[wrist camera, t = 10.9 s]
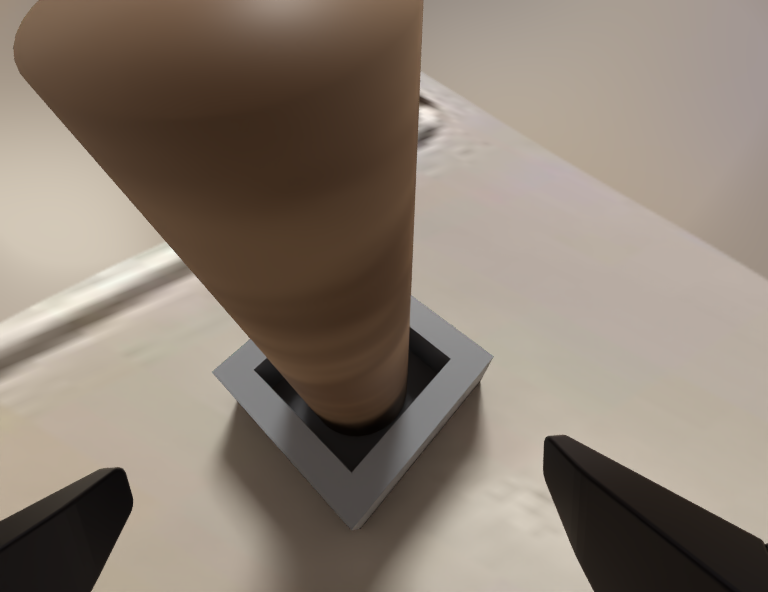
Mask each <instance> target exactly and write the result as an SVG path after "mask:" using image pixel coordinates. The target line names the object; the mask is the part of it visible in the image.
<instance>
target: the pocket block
mask: <svg viewBox="0 0 768 592" xmlns="http://www.w3.org/2000/svg"><path fill="white" fill-rule="evenodd" d="M493 357H494V356H492V355H491V354H490V353H488V352H487V351H486V350H484V349H483V348H482V347H480V346H479V345H478V344H476V343H475V342H474V341H472V340H471V339H470V338H468V337H467V336H466V335H464V334H463V333H461V332H460V331H459V330H457V329H456V328H455V327H453V326H452V325H451V324H449V323H448V322H447V321H445V320H444V319H443V318H441V317H440V316H439V315H437V314H436V313H435V312H433V311H432V310H430V309H429V308H428V307H426V306H425V305H424V304H422V303H421V302H420V301H418V300H417V299H416V298H414V297H413V296H412V295H411V306H410V329H409V353H408V376H407V393H406V398H405V402H404V404H403V407H402V409H401V410H400V412H399V414H398V415H397V416H396V418H395V419H394V420H393V421H392V422H391V423H390V424H389V425H387V426H386V427H385V428H383V429H381V430H380V431H378V432H375V433H373V434H369V435H365V436H349V435H344V434H341V433H338V432H336V431H334V430H332V429H331V428H329V427H328V426H327V425H325V424H324V423H323V422H322V421H321V419H320V418H319V417H318V416H317V415H316V414H315V412H314V411H313V410H312V409H311V408H310V407H309V406H308V404H307V403H306V402H305V401H304V400H303V399H302V398H301V396H300V395H299V394H298V393H297V392H296V391H295V389H294V388H293V387H292V386H291V385H290V384H289V383H288V381H287V380H286V379H285V378H284V377H283V376H282V374H281V373H280V372H279V371H278V370H277V369H276V368H275V366H274V365H273V364H272V363H271V362H270V361H269V360H268V358H267V357H266V356H265V355H264V354H263V353H262V351H261V350H260V349H259V348H258V347H257V346H256V345H255V343H254V342H253V341H252V340H251V339H250V340H248V341H247V342H246V343H245V344H244V345H243V346H241V347H240V348H239V349H238V350H237V351H236V352H234V353H233V354H232V355H231V356H230V357H229V358H227V359H226V360H225V361H224V362H223V363H222V364H220V365H219V366H218V367H217V368H216V369H215V370H214V371H212V373H213V374H214V375H215V376H216V377H217V379H218V380H219V381H220V382H221V383H222V384H223V385H224V387H225V388H226V389H227V390H228V391H229V392H230V393H231V394H232V396H233V397H234V398H235V399H236V400H237V401H238V402H239V404H240V405H241V406H242V407H243V408H244V409H245V410H246V411H247V413H248V414H249V415H250V416H251V417H252V418H253V419H254V421H255V422H256V423H257V424H258V425H259V426H260V427H261V428H262V430H263V431H264V432H265V433H266V434H267V435H268V436H269V438H270V439H271V440H272V441H273V442H274V443H275V444H276V445H277V447H278V448H279V449H280V450H281V451H282V452H283V453H284V455H285V456H286V457H287V458H288V459H289V460H290V461H291V463H292V464H293V465H294V466H295V467H296V468H297V469H298V470H299V472H300V473H301V474H302V475H303V476H304V477H305V478H306V480H307V481H308V482H309V483H310V484H311V485H312V486H313V487H314V489H315V490H316V491H317V492H318V493H319V494H320V495H321V497H322V498H323V499H324V500H325V501H326V502H327V503H328V504H329V506H330V507H331V508H332V509H333V510H334V511H335V512H336V514H337V515H338V516H339V517H340V518H341V519H342V520H343V522H344V523H345V524H346V525H347V526H348V527H349V528H350V529H351V530H356V529H361V527H362V526H363V525H364V524H365V522H366V521H367V520H368V519H369V518H370V516H371V515H372V514H373V513H374V511H375V510H376V509H377V508H378V506H379V505H380V504H381V503H382V501H383V500H384V499H385V498H386V497H387V495H388V494H389V493H390V492H391V490H392V489H393V488H394V487H395V485H396V484H397V483H398V482H399V481H400V479H401V478H402V477H403V476H404V474H405V473H406V472H407V471H408V469H409V468H410V467H411V466H412V464H413V463H414V462H415V461H416V460H417V458H418V457H419V456H420V455H421V453H422V452H423V451H424V450H425V448H426V447H427V446H428V445H429V443H430V442H431V441H432V440H433V439H434V437H435V436H436V435H437V434H438V432H439V431H440V430H441V429H442V427H443V426H444V425H445V424H446V423H447V421H448V420H449V419H450V418H451V416H452V415H453V414H454V413H455V411H456V410H457V409H458V408H459V406H460V405H461V404H462V403H463V402H464V400H465V399H466V398H467V397H468V395H469V394H470V393H471V392H472V390H473V389H474V388H475V387H476V385H477V384H478V383H479V382H480V381H481V379H482V377H483V375H484V373H485V371H486V370H487V368H488V366H489V364H490V362H491V360H492V359H493Z"/></svg>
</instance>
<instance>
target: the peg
mask: <svg viewBox="0 0 768 592" xmlns="http://www.w3.org/2000/svg"><path fill="white" fill-rule="evenodd" d="M422 22H423V0H39V1H38V2H37V3H36V4H35V5H34V6H33V7H32V8H31V9H30V11H29V12H28V13H27V15H26V16H25V17H24V19H23V21H22V22H21V24H20V26H19V29H18V31H17V33H16V36H15V42H14V47H13V49H14V59H15V63H16V65H17V67H18V70H19V72H20V74H21V75H22V76H23V77H24V79H25V80H26V81H27V82H28V83H29V84H30V86H31V87H32V88H33V89H34V90H35V91H36V93H37V94H38V95H39V96H40V97H41V98H42V100H44V102H45V103H46V104H47V105H48V107H49V108H50V109H51V110H52V111H53V112H54V113H55V115H56V116H57V117H58V118H59V119H60V120H61V121H62V123H63V124H64V125H65V126H66V127H67V128H68V130H69V131H70V132H71V133H72V134H73V135H74V136H75V138H76V139H77V140H78V141H79V142H80V143H81V144H82V146H83V147H84V148H85V149H86V150H87V151H88V153H89V154H90V155H91V156H92V157H93V158H94V159H95V161H96V162H97V163H98V164H99V165H100V166H101V167H102V169H103V170H104V171H105V172H106V173H107V174H108V176H109V177H110V178H111V179H112V180H113V181H114V182H115V184H116V185H117V186H118V187H119V188H120V189H121V190H122V192H123V193H124V194H125V195H126V196H127V197H128V198H129V200H130V201H131V202H132V203H133V204H134V205H135V206H136V208H137V209H138V210H139V211H140V212H141V213H142V214H143V216H144V217H145V218H146V219H147V220H148V222H149V223H150V224H151V225H152V226H153V227H154V228H155V230H156V231H157V232H158V233H159V234H160V235H161V236H162V238H163V239H164V240H165V241H166V242H167V243H168V245H169V246H170V247H171V248H172V249H173V250H174V251H175V253H176V254H177V255H178V256H179V257H180V258H181V259H182V261H183V262H184V263H185V264H186V265H187V266H188V268H189V269H190V270H191V271H192V272H193V273H194V274H195V276H196V277H197V278H198V279H199V280H200V281H201V282H202V284H203V285H204V286H205V287H206V288H207V289H208V291H209V292H210V293H211V294H212V295H213V296H214V297H215V299H216V300H217V301H218V302H219V303H220V304H221V305H222V307H223V308H224V309H225V310H226V311H227V312H228V314H229V315H230V316H231V317H232V318H233V319H234V320H235V322H236V323H237V324H238V325H239V326H240V327H241V328H242V330H243V331H244V332H245V333H246V334H247V335H248V337H249V338H250V339H251V340H252V341H253V342H254V343H255V345H256V346H257V347H258V348H259V349H260V350H261V351H262V353H263V354H264V355H265V356H266V357H267V358H268V360H269V361H270V362H271V363H272V364H273V365H274V366H275V368H276V369H277V370H278V371H279V372H280V373H281V374H282V376H283V377H284V378H285V379H286V380H287V381H288V383H289V384H290V385H291V386H292V387H293V388H294V389H295V391H296V392H297V393H298V394H299V395H300V396H301V398H302V399H303V400H304V401H305V402H306V403H307V404H308V406H309V407H310V408H311V409H312V410H313V411H314V412H315V414H316V415H317V416H318V417H319V418H320V419H321V421H322V422H323V423H324V424H325V425H327V426H328V427H329V428H331V429H332V430H334V431H336V432H338V433H341V434H344V435H349V436H365V435H369V434H373V433H375V432H378V431H380V430H381V429H383V428H385V427H386V426H387V425H389V424H390V423H391V422H392V421H393V420H394V419H395V418H396V416H397V415H398V414H399V412H400V410H401V409H402V407H403V404H404V402H405V398H406V393H407V376H408V353H409V329H410V306H411V282H412V258H413V235H414V211H415V187H416V164H417V140H418V116H419V93H420V69H421V44H422Z"/></svg>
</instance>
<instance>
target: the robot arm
mask: <svg viewBox="0 0 768 592" xmlns="http://www.w3.org/2000/svg"><path fill="white" fill-rule="evenodd" d="M543 474H544V478H545V481H546V484H547V487H548V489H549V492H550V494H551V496H552V499H553V501H554V504H555V506H556V509H557V511H558V514H559V516H560V519H561V521H562V524H563V526H564V529H565V531H566V534H567V536H568V539H569V541H570V543H571V546H572V548H573V550H574V553H575V555H576V557H577V559H578V561H579V563H580V565H581V567H582V569H583V571H584V573H585V575H586V577H587V579H588V581H589V583H590V585H591V587H592V589H593V590H594V592H768V543H767V544H764V542H763V541H762V540H761V539H760V538H758V537H756V536H754V535H752V534H750V533H748V532H747V531H745V530H743V529H741V528H739V527H737V526H735V525H733V524H732V523H730V522H728V521H726V520H724V519H722V518H720V517H718V516H717V515H715V514H713V513H711V512H709V511H707V510H705V509H703V508H702V507H700V506H698V505H696V504H694V503H692V502H690V501H688V500H687V499H685V498H683V497H681V496H679V495H677V494H675V493H673V492H672V491H670V490H668V489H666V488H664V487H662V486H660V485H658V484H657V483H655V482H653V481H651V480H649V479H647V478H645V477H644V476H642V475H640V474H638V473H636V472H634V471H632V470H630V469H629V468H627V467H625V466H623V465H621V464H619V463H617V462H615V461H614V460H612V459H610V458H608V457H606V456H604V455H602V454H600V453H599V452H597V451H595V450H593V449H591V448H589V447H587V446H585V445H584V444H582V443H580V442H578V441H576V440H574V439H572V438H570V437H569V436H566V435H554V436H547V437H546V438H545V441H544V457H543ZM132 507H133V496H132V493H131V489H130V486H129V482H128V479H127V475H126V472H125V471H124V469H122V468H120V467H115V468H103V469H99V470H97V471H95V472H93V473H91V474H90V475H88V476H86V477H84V478H82V479H80V480H78V481H76V482H74V483H72V484H70V485H69V486H67V487H65V488H63V489H61V490H59V491H57V492H55V493H53V494H51V495H49V496H47V497H46V498H44V499H42V500H40V501H38V502H36V503H34V504H32V505H30V506H28V507H26V508H25V509H23V510H21V511H19V512H17V513H15V514H13V515H11V516H9V517H7V518H5V519H4V520H2V521H0V592H91V591H92V589H93V587H94V585H95V583H96V581H97V579H98V577H99V576H100V574H101V572H102V569H103V567H104V565H105V563H106V561H107V559H108V557H109V555H110V553H111V551H112V549H113V547H114V545H115V543H116V541H117V539H118V537H119V535H120V533H121V531H122V529H123V527H124V525H125V523H126V521H127V519H128V517H129V515H130V513H131V511H132Z"/></svg>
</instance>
